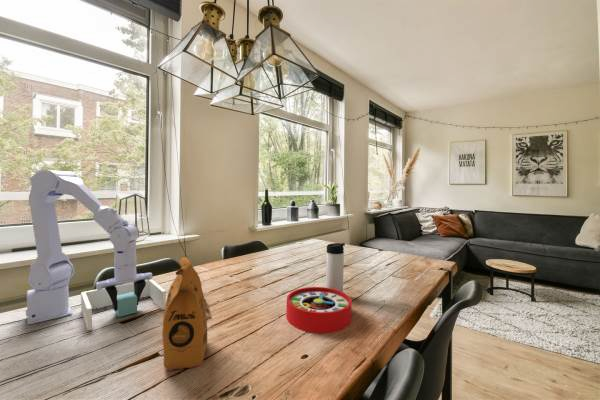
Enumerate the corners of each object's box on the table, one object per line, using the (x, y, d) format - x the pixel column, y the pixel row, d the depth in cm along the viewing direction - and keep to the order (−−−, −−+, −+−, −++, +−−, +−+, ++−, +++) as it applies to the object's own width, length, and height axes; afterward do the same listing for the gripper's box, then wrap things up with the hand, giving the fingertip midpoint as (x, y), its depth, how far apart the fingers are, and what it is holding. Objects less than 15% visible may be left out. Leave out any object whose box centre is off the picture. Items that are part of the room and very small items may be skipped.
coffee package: (155, 376, 57) (154, 272, 56) (167, 343, 69) (166, 257, 68) (205, 368, 59) (205, 268, 58) (208, 337, 71) (208, 255, 70)
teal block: (118, 317, 81) (118, 300, 81) (115, 311, 85) (114, 295, 85) (137, 312, 85) (137, 296, 84) (133, 306, 88) (133, 291, 88)
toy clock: (276, 307, 77) (297, 284, 97) (276, 327, 78) (297, 300, 97) (347, 317, 72) (354, 291, 91) (346, 339, 72) (354, 308, 91)
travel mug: (343, 301, 95) (344, 245, 94) (324, 299, 97) (325, 244, 96) (344, 295, 101) (345, 241, 101) (326, 293, 103) (327, 241, 102)
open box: (87, 330, 74) (87, 309, 74) (81, 311, 86) (81, 292, 85) (165, 309, 88) (165, 290, 87) (151, 294, 99) (151, 278, 99)
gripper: (98, 271, 76) (99, 318, 77) (154, 262, 86) (155, 304, 87) (94, 266, 81) (95, 310, 82) (148, 258, 91) (149, 297, 92)
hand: (126, 306), depth 85 cm, fingers closed on teal block, 5 cm apart
